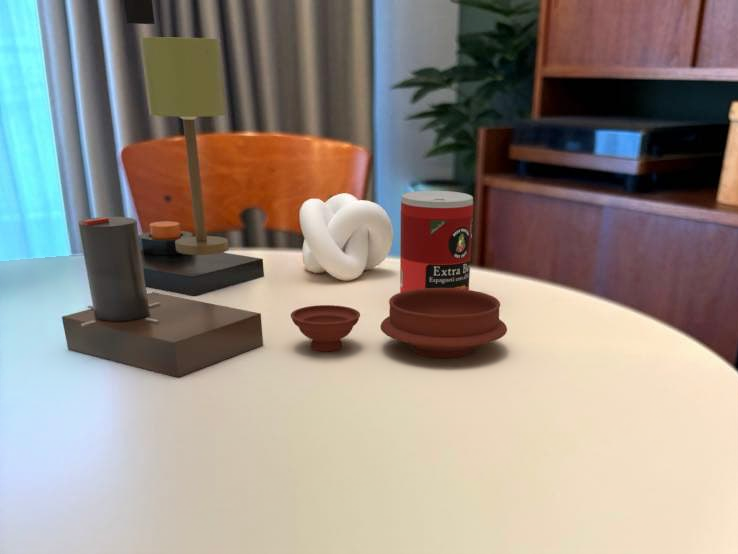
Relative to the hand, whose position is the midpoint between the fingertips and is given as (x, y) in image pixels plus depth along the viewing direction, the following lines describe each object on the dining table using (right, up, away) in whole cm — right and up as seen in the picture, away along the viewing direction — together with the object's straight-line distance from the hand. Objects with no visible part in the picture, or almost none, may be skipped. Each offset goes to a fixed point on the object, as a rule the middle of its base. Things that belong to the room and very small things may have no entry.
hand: (140, 23), depth 92 cm
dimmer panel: (+7, -40, -15) cm, 43 cm away
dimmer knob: (+4, -37, -17) cm, 41 cm away
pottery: (+29, -40, -14) cm, 51 cm away
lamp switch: (0, -20, +12) cm, 23 cm away
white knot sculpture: (+21, -25, +11) cm, 34 cm away
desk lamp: (+6, -24, +4) cm, 25 cm away
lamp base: (+2, -25, +9) cm, 27 cm away
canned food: (+33, -31, +1) cm, 45 cm away
